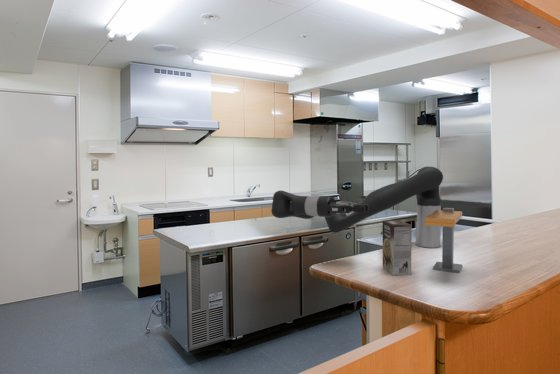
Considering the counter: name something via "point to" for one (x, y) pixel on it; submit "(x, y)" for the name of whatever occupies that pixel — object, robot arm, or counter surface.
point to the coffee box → (397, 247)
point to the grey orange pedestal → (446, 237)
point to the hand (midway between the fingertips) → (366, 208)
